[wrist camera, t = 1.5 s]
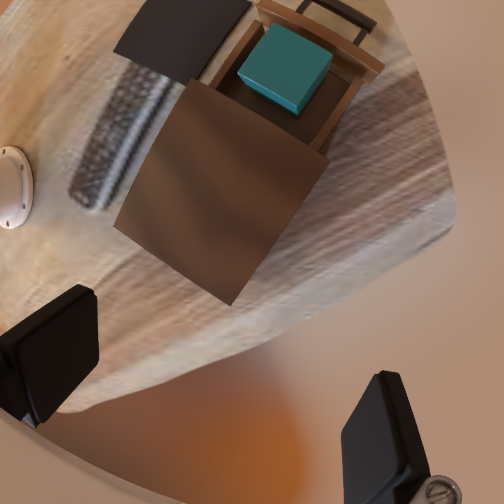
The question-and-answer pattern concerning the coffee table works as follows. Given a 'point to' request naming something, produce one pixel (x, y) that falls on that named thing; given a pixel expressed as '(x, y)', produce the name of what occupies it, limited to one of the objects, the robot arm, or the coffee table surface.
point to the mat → (179, 35)
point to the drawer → (334, 88)
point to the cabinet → (217, 190)
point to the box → (286, 70)
